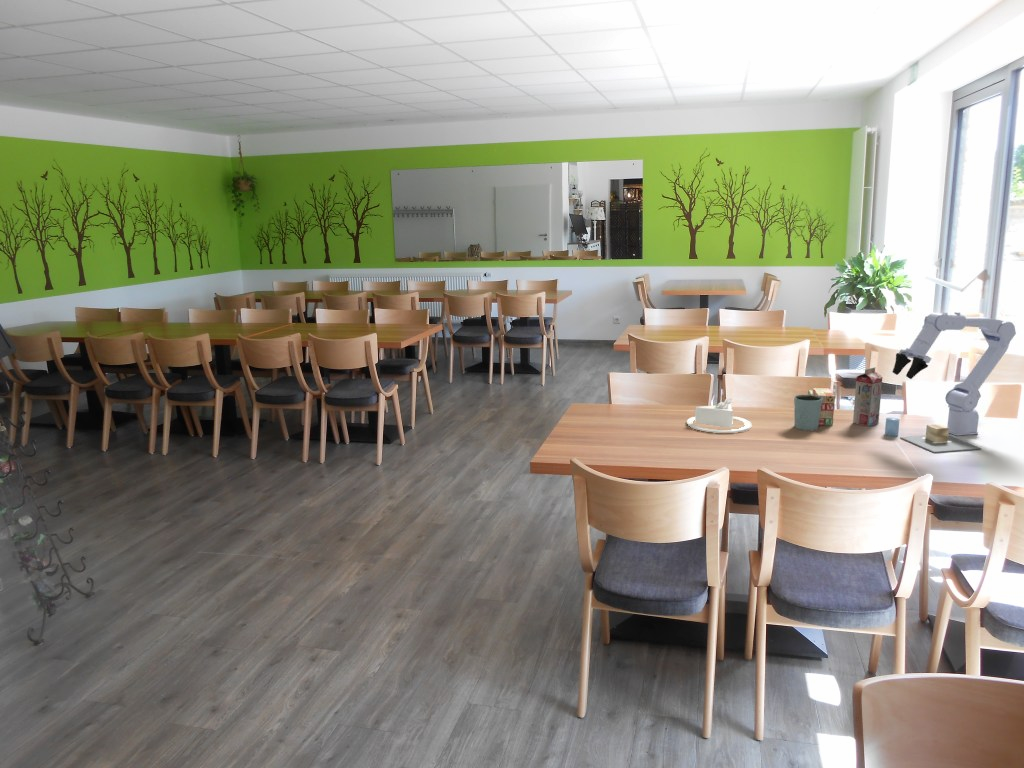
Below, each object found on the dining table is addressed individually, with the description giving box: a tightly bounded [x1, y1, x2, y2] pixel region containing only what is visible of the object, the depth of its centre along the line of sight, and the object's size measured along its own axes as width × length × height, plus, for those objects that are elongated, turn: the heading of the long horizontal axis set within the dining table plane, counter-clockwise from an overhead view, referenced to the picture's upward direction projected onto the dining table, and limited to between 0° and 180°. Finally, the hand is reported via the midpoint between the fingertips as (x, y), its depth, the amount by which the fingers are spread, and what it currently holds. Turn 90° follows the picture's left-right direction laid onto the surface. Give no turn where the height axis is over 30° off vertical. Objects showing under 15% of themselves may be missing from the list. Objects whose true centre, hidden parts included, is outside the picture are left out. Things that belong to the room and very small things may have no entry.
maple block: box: [925, 423, 950, 442], centre depth 273 cm, size 5×5×5 cm
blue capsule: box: [884, 417, 900, 437], centre depth 282 cm, size 4×4×6 cm
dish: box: [686, 397, 753, 434], centre depth 299 cm, size 25×25×11 cm
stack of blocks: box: [807, 387, 836, 426], centre depth 305 cm, size 21×6×12 cm, turn 168°
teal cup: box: [793, 394, 822, 431], centre depth 293 cm, size 10×10×12 cm
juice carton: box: [852, 367, 883, 427], centre depth 295 cm, size 7×7×22 cm
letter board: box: [900, 434, 982, 454], centre depth 270 cm, size 18×18×1 cm
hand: (901, 375), depth 274 cm, fingers open, 7 cm apart
